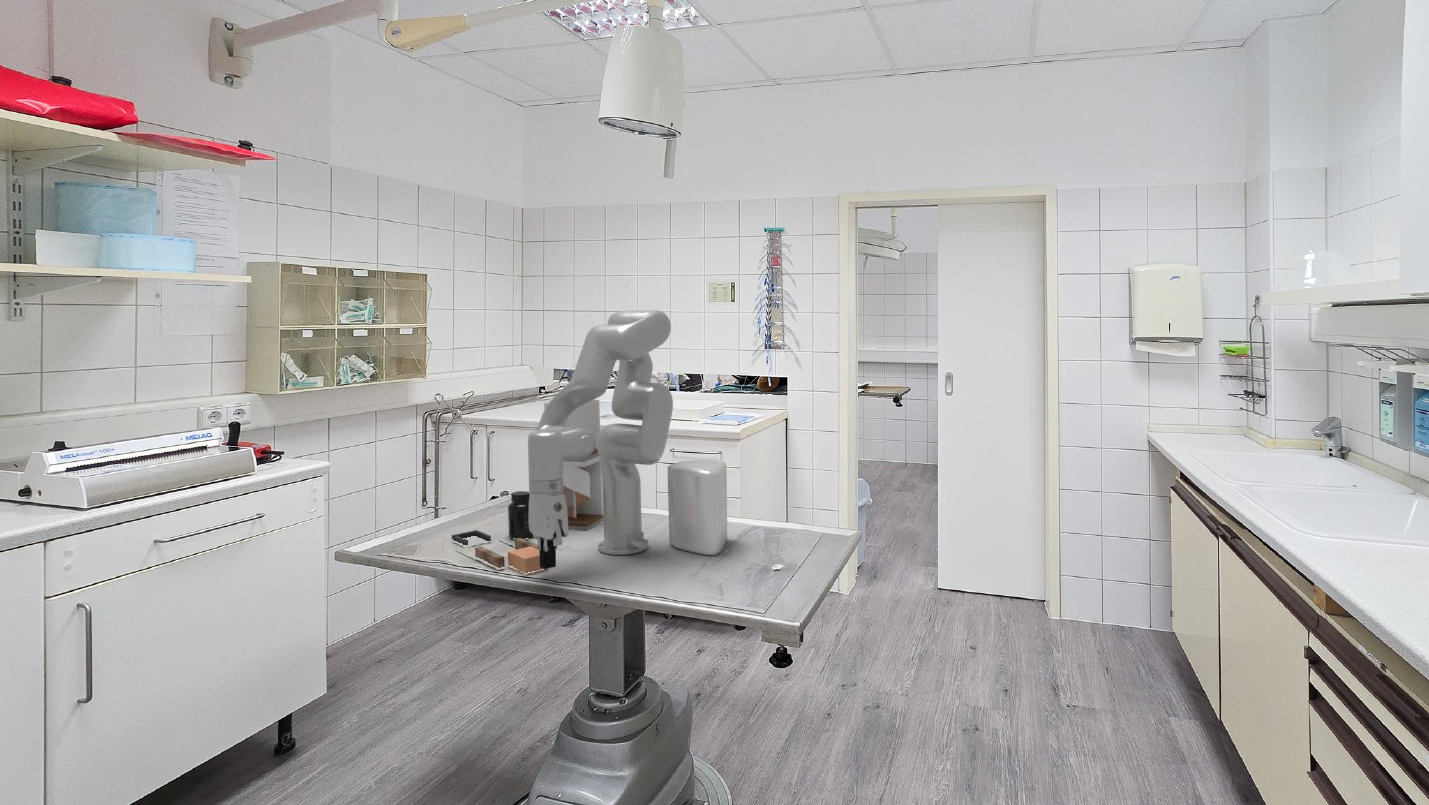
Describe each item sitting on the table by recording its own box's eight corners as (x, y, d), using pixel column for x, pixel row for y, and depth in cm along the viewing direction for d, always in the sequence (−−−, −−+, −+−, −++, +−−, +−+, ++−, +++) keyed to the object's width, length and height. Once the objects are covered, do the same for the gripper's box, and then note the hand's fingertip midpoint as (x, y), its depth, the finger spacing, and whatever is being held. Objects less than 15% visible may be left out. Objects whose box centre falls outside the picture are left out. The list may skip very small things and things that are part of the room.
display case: (549, 528, 219) (544, 403, 215) (567, 518, 229) (562, 399, 225) (586, 531, 216) (582, 403, 212) (603, 521, 226) (599, 399, 222)
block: (548, 570, 184) (548, 553, 183) (525, 576, 180) (524, 559, 179) (531, 562, 190) (530, 546, 189) (508, 568, 186) (507, 551, 185)
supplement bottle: (503, 538, 210) (501, 494, 208) (521, 532, 216) (519, 489, 214) (523, 541, 206) (521, 496, 205) (540, 535, 212) (538, 491, 211)
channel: (544, 559, 191) (544, 547, 191) (498, 571, 183) (498, 558, 183) (520, 549, 200) (519, 537, 199) (475, 559, 192) (475, 547, 191)
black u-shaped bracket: (490, 542, 206) (490, 535, 206) (465, 548, 201) (465, 541, 201) (477, 536, 212) (476, 530, 212) (452, 541, 207) (451, 535, 207)
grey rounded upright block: (718, 556, 191) (716, 467, 188) (661, 554, 194) (659, 466, 191) (729, 539, 206) (728, 456, 203) (676, 537, 208) (674, 454, 206)
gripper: (579, 488, 172) (580, 571, 173) (544, 479, 183) (545, 557, 184) (548, 493, 167) (550, 578, 168) (514, 483, 178) (516, 563, 179)
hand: (547, 567), depth 176 cm, fingers closed
